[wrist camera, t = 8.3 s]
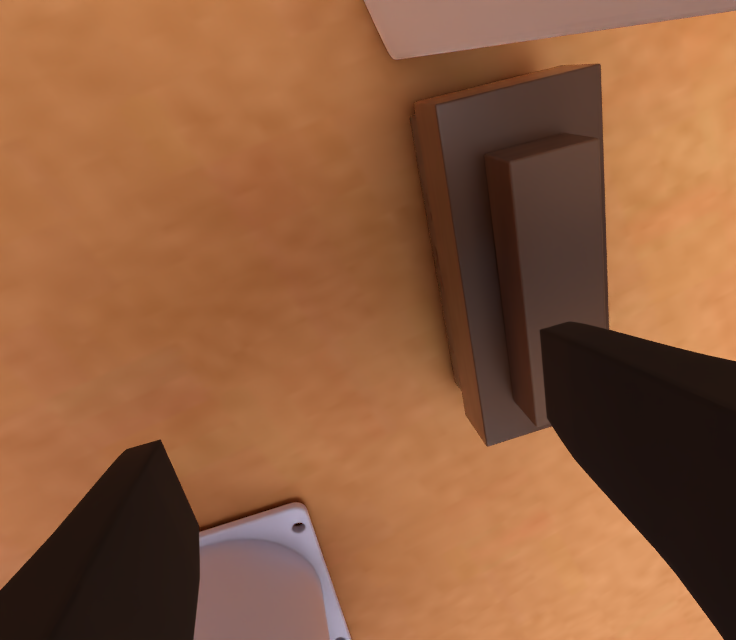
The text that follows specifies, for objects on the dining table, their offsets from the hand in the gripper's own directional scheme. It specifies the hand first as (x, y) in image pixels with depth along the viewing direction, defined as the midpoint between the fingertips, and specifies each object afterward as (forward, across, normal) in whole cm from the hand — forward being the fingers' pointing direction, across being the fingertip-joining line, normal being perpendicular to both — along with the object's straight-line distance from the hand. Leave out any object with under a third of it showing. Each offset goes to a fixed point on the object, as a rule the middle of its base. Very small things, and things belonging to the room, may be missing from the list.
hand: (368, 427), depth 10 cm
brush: (+9, -6, +1) cm, 11 cm away
